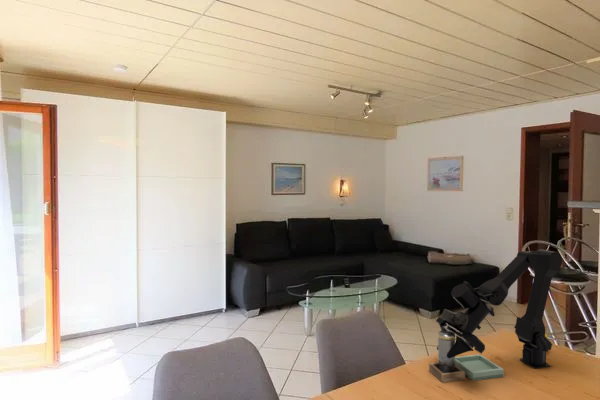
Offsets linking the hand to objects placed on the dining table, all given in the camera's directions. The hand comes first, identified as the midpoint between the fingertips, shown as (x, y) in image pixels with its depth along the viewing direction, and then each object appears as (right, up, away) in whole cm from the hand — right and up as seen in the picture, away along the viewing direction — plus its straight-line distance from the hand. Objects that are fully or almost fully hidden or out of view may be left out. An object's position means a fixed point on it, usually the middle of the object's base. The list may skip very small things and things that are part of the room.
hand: (442, 353), depth 117 cm
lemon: (+43, -7, +17) cm, 47 cm away
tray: (+13, -7, +3) cm, 15 cm away
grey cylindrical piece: (+1, -7, 0) cm, 7 cm away
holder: (+1, -7, 0) cm, 7 cm away
